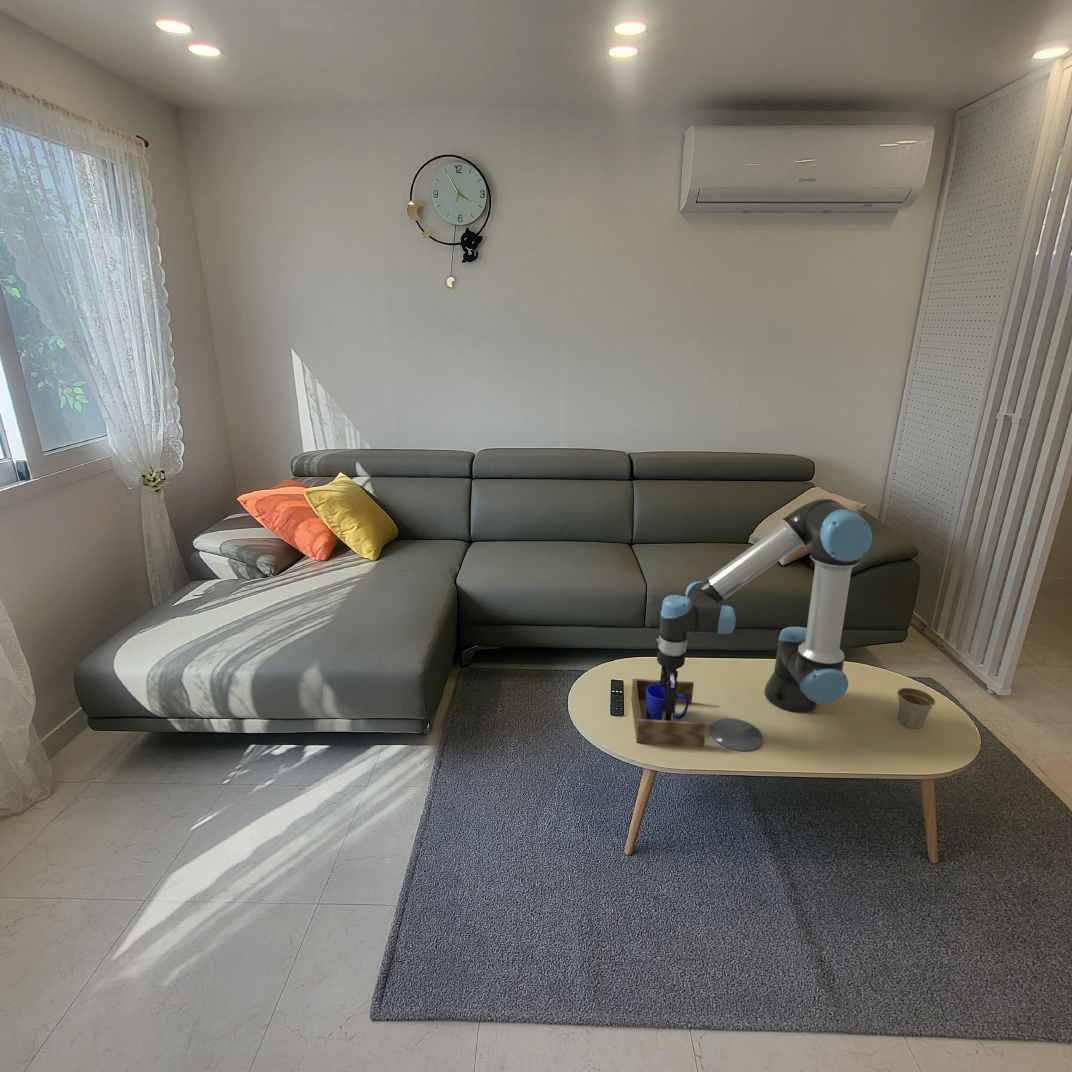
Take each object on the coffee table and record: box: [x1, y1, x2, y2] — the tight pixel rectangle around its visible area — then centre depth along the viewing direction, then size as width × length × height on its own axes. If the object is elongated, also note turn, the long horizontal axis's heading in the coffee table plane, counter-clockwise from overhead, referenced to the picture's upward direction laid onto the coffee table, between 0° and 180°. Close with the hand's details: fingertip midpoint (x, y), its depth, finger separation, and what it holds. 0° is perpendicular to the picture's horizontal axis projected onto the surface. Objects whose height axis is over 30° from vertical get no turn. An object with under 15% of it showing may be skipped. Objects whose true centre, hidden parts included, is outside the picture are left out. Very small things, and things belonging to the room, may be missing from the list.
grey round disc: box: [709, 717, 764, 753], centre depth 170 cm, size 14×14×1 cm
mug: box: [645, 683, 690, 720], centre depth 174 cm, size 8×12×10 cm
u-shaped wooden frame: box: [630, 678, 707, 748], centre depth 175 cm, size 18×21×7 cm
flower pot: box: [896, 687, 936, 729], centre depth 175 cm, size 9×9×9 cm
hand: (664, 720), depth 176 cm, fingers closed on mug, 7 cm apart
